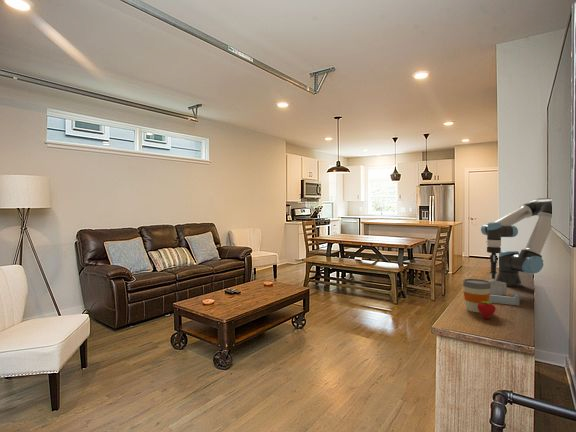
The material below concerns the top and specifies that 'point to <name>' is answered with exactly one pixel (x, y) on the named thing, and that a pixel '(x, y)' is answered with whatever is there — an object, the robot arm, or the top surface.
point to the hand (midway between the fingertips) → (493, 283)
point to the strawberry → (486, 309)
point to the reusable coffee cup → (475, 293)
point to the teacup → (497, 288)
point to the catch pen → (505, 299)
